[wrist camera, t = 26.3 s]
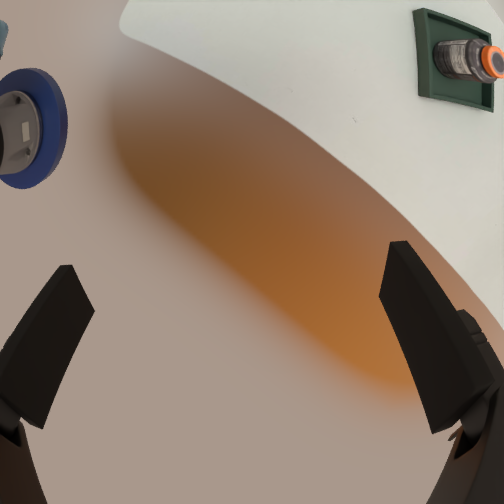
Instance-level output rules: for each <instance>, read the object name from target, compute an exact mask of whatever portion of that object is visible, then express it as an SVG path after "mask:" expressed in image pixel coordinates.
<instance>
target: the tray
mask: <svg viewBox="0 0 504 504" xmlns="http://www.w3.org/2000/svg"><path fill="white" fill-rule="evenodd" d="M413 17H414V25H415V34H416V45H417V60H418V89H419V96H423V97H429V98H434V99H439V100H444V101H449V102H454V103H458V104H463V105H467V106H471V107H475V108H478V109H482V110H486V111H489V112H493V111H494V82H493V83H481V82H475V81H467V80H458V79H451V78H448V77H446V76H444V75H443V74H442V73H441V72H440V71H439V70H438V68H437V66H436V64H435V62H434V58H433V50H434V47H435V45H436V44H437V43H438V42H440V41H445V40H456V39H475V38H478V39H482V40H484V41H486V42H487V43H488V44H490V45H491V46H492V42H491V34H490V33H488V32H486V31H484V30H481V29H479V28H477V27H475V26H472V25H470V24H468V23H465V22H463V21H460V20H458V19H455V18H452V17H450V16H447V15H444V14H441V13H438V12H435V11H432V10H429V9H426V8H421V9H417V10H414V11H413Z"/></svg>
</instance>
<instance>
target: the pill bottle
mask: <svg viewBox="0 0 504 504" xmlns="http://www.w3.org/2000/svg"><path fill="white" fill-rule="evenodd" d="M433 58H434V62H435V64H436V66H437V68H438V70H439V71H440V72H441V73H442V74H443V75H444V76H446V77H448V78H451V79H458V80H467V81H475V82H481V83H493V82H494V81H496V79H497V78H504V53H503V52H502V50H501V49H500V48H498V47H496V46H491V45H490V44H488V43H487V42H486V41H484V40H482V39H478V38H475V39H456V40H445V41H440V42H438V43H437V44H436V45H435V47H434V50H433Z"/></svg>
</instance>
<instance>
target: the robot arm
mask: <svg viewBox="0 0 504 504" xmlns="http://www.w3.org/2000/svg"><path fill="white" fill-rule="evenodd" d="M7 34H8V26H7V24H6V23H5V22H4V21H1V20H0V58H1V56H2V55H3V47H4V44H5V41H6V37H7ZM42 140H43V118H42V114H41V110H40V108H39V105H38V103H37V101H36V100H35V99H34V97H33V96H32V95H31V94H30V93H28V92H26V91H23V90H15V91H10V92H7V93H5V94H3V95H2V96H0V175H3V174H13V173H18V172H20V171H22V170H24V169H26V168H27V167H29V166H30V165H31V164H32V163H33V162H34V161H35V159H36V158H37V156H38V154H39V151H40V149H41V145H42ZM379 298H380V300H381V302H382V305H383V307H384V309H385V311H386V313H387V316H388V318H389V320H390V322H391V324H392V327H393V329H394V332H395V334H396V336H397V339H398V341H399V343H400V346H401V348H402V351H403V353H404V356H405V358H406V360H407V363H408V366H409V368H410V371H411V374H412V376H413V379H414V382H415V384H416V387H417V390H418V393H419V396H420V398H421V401H422V404H423V407H424V410H425V413H426V416H427V419H428V423H429V425H430V429H431V432H432V434H434V433H437V432H440V431H442V430H445V429H447V428H450V427H452V426H453V425H454V424H455V423H456V422H457V421H458V420H459V419H460V421H461V423H462V426H461V427H460V428H458V429H457V430H456V431H455V432H454V433H453V434H452V435H451V436H450V438H449V439H448V441H451V440H452V439H454V438H455V437H456V439H455V441H454V444H453V447H452V450H451V452H450V455H449V457H448V459H447V462H446V464H445V466H444V469H443V471H442V473H441V475H440V478H439V480H438V482H437V484H436V486H435V488H434V490H433V492H432V494H431V496H430V498H429V499H428V501H427V503H426V504H504V369H503V367H502V365H501V363H500V361H499V360H498V358H497V356H496V354H495V352H494V350H493V349H492V347H491V345H490V344H489V342H487V338H486V337H485V335H484V333H482V332H481V331H482V330H481V328H480V327H479V325H478V324H477V322H476V320H475V319H474V318H473V317H472V316H471V315H470V314H469V313H467V312H466V311H465V310H464V309H463V310H458V311H456V309H455V308H454V306H453V305H452V303H451V302H450V300H449V299H448V297H447V296H446V294H445V293H444V291H443V290H442V288H441V287H440V285H439V284H438V282H437V281H436V280H435V278H434V277H433V275H432V274H431V272H430V271H429V270H428V268H427V267H426V266H425V264H424V263H423V261H422V260H421V259H420V257H419V256H418V255H417V253H416V252H415V251H414V249H413V248H412V247H411V245H410V244H409V243H408V242H407V241H396V242H390V245H389V251H388V256H387V261H386V266H385V271H384V275H383V280H382V284H381V289H380V293H379ZM94 312H95V310H94V308H93V307H92V305H91V303H90V301H89V299H88V297H87V295H86V293H85V291H84V289H83V287H82V285H81V283H80V281H79V279H78V276H77V275H76V272H75V270H74V268H73V266H72V265H60V266H59V268H58V269H57V270H56V271H55V273H54V274H53V275H52V277H51V278H50V279H49V281H48V282H47V283H46V285H45V286H44V287H43V289H42V290H41V291H40V293H39V294H38V296H37V297H36V298H35V300H34V301H33V303H32V304H31V306H30V307H29V308H28V310H27V311H26V313H25V314H24V316H23V317H22V319H21V321H20V322H19V323H18V325H17V327H16V328H15V330H14V331H13V333H12V334H11V336H10V337H9V338H8V339H7V341H6V343H5V345H4V346H3V349H2V350H1V352H0V504H47V501H46V499H45V496H44V493H43V491H42V489H41V485H40V483H39V480H38V476H37V473H36V470H35V467H34V464H33V461H32V457H31V453H30V450H29V446H28V442H27V438H26V433H25V429H24V426H23V424H22V423H21V422H20V421H19V420H20V418H21V417H22V418H23V419H24V420H26V421H27V422H28V423H29V424H30V425H33V426H35V427H38V428H40V429H43V427H44V425H45V422H46V419H47V416H48V414H49V411H50V408H51V405H52V403H53V401H54V398H55V396H56V393H57V391H58V388H59V385H60V383H61V381H62V379H63V376H64V374H65V372H66V370H67V367H68V365H69V363H70V361H71V358H72V356H73V354H74V352H75V350H76V348H77V346H78V343H79V342H80V339H81V337H82V335H83V333H84V331H85V329H86V327H87V325H88V323H89V322H90V320H91V318H92V316H93V314H94Z"/></svg>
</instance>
